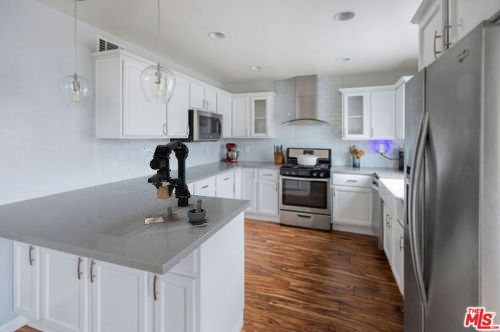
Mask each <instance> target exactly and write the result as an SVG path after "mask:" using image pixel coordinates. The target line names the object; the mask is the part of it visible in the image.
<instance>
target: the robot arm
mask: <svg viewBox="0 0 500 332" xmlns="http://www.w3.org/2000/svg"><path fill="white" fill-rule="evenodd" d="M172 151H173V152H172ZM172 153H174V156H175V159H176V160H177V177H174V178H173V177H172V176H171V172H172V169H170V166H171V165H170V160H171V155H172ZM189 154H190V150H189V148H188V146H187V144H185V143H184V142H182V140H180V139H178V140H177V139H176V140H175V139H174V140H171V141H169V142H168V143H166V144H157V145H156V147H155V148H154V152H153V156H152V159H151V160H150V161H149V167H150V169H151V170H154V171H156V173H155V174H153V175H152V176H151V177H148V179H147V184H151V185H153V186H154V187H155V189H156V190H157V189H159V186H163V183H169V184H166V185H167V186H168V188H169V197H170V196H171V195H172V192H173V193H174V197H175V199H177V200H176V202H177V203H176V205H177V207H186V206H187V207H188V206H189V203H190V201H189V199H191V197H192V193H191V192H190V190H189V186H188V184H187V183H186V180H187V179H186V160H187V158H188V157H189Z"/></svg>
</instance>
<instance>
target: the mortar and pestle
mask: <svg viewBox="0 0 500 332" xmlns="http://www.w3.org/2000/svg"><path fill="white" fill-rule="evenodd" d="M202 203H203V200H202V199H197V201H196V206H195V208H192V209H188V210H187V211H186V214H187V219H189V221H190V222H191V223H193V224H191V226H194V227H197V226H201V224H202V225H203V223H204V222H203V221H204V219H205V218H206V216H207V210H206V209H204V208H202Z"/></svg>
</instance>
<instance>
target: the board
mask: <svg viewBox="0 0 500 332" xmlns="http://www.w3.org/2000/svg"><path fill="white" fill-rule="evenodd" d="M142 218H143V225H145V226H146V225H152V224H159V223H160V224H161V223H167V222H175V221H181V219H180V216H179V215H178V213H177V212H173V206H170V205H169V206H167V213H165V214H163V213H162V214H157V215H147V216H143V217H142Z"/></svg>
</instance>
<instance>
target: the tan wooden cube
mask: <svg viewBox="0 0 500 332" xmlns="http://www.w3.org/2000/svg"><path fill="white" fill-rule="evenodd" d="M167 185H168V184H166V185H162V186H159V189H156V197H157V199H158V200H168V199H171V198H174V191H173V192H172V195H171V196H170V197H169V188H168V186H167Z"/></svg>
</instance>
